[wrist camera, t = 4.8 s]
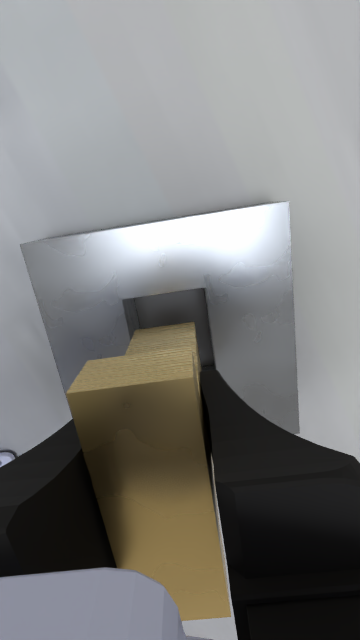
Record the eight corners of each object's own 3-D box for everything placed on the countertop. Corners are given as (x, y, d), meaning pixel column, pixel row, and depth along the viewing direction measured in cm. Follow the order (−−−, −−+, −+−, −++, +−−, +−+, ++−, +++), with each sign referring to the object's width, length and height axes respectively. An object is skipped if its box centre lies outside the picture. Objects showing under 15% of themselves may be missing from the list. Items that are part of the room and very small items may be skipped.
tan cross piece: (157, 436, 16) (133, 624, 9) (128, 298, 14) (65, 393, 6) (210, 430, 16) (230, 616, 8) (189, 289, 13) (193, 376, 6)
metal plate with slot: (98, 425, 22) (84, 458, 19) (45, 238, 18) (19, 244, 15) (283, 402, 21) (299, 433, 18) (271, 202, 17) (288, 201, 14)
